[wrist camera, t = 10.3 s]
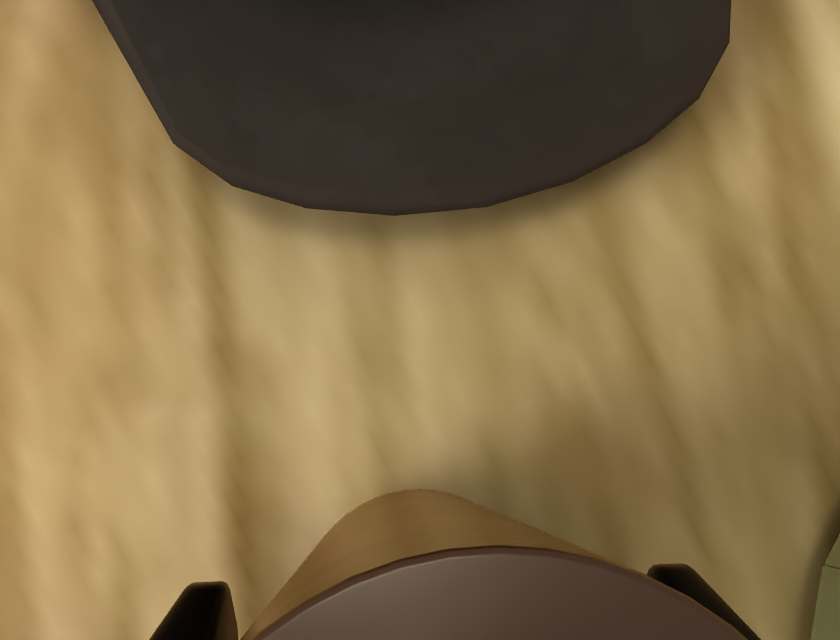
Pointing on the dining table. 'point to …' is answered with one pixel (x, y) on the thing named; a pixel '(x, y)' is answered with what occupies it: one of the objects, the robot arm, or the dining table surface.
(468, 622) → the pepper mill
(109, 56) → the dining table surface
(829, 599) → the green round dish
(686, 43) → the casserole
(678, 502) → the dining table surface
